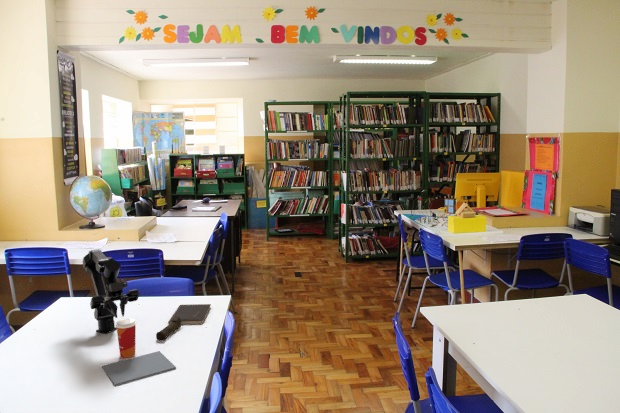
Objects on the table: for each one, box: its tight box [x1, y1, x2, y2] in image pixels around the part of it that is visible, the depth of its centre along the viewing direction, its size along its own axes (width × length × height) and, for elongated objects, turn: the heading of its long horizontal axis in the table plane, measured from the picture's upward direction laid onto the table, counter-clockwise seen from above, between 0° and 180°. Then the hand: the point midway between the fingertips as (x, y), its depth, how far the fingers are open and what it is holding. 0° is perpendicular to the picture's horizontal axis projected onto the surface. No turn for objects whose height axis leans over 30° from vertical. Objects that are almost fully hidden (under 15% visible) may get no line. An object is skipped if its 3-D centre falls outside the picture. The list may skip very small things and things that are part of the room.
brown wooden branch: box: [155, 317, 182, 341], centre depth 221 cm, size 19×4×5 cm, turn 166°
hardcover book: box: [167, 303, 211, 325], centre depth 242 cm, size 16×23×2 cm
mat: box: [101, 350, 177, 387], centre depth 186 cm, size 18×22×1 cm
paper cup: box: [115, 318, 137, 359], centre depth 197 cm, size 8×8×14 cm
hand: (120, 316), depth 202 cm, fingers open, 2 cm apart
